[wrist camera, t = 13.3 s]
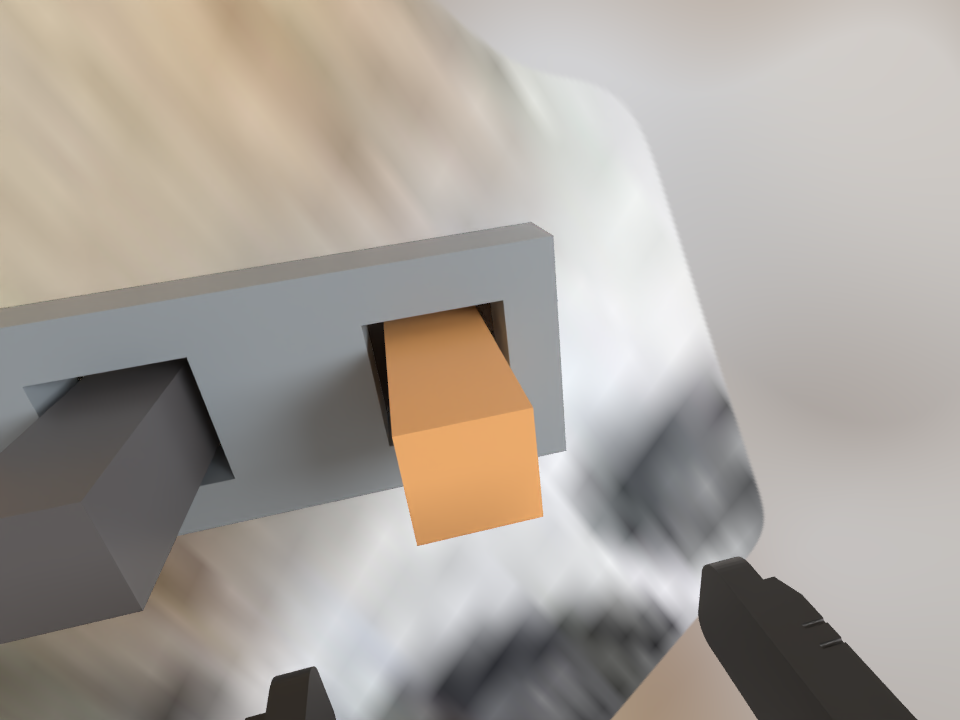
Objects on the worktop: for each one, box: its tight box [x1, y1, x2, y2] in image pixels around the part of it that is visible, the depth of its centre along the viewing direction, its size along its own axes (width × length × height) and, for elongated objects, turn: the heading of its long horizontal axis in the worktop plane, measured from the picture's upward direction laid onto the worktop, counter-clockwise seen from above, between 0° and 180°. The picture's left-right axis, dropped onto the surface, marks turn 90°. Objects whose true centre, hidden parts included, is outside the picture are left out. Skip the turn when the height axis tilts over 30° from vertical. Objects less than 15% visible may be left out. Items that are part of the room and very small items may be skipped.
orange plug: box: [384, 305, 543, 546], centre depth 20 cm, size 4×4×10 cm
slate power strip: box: [0, 222, 566, 644], centre depth 19 cm, size 22×10×10 cm, turn 97°
